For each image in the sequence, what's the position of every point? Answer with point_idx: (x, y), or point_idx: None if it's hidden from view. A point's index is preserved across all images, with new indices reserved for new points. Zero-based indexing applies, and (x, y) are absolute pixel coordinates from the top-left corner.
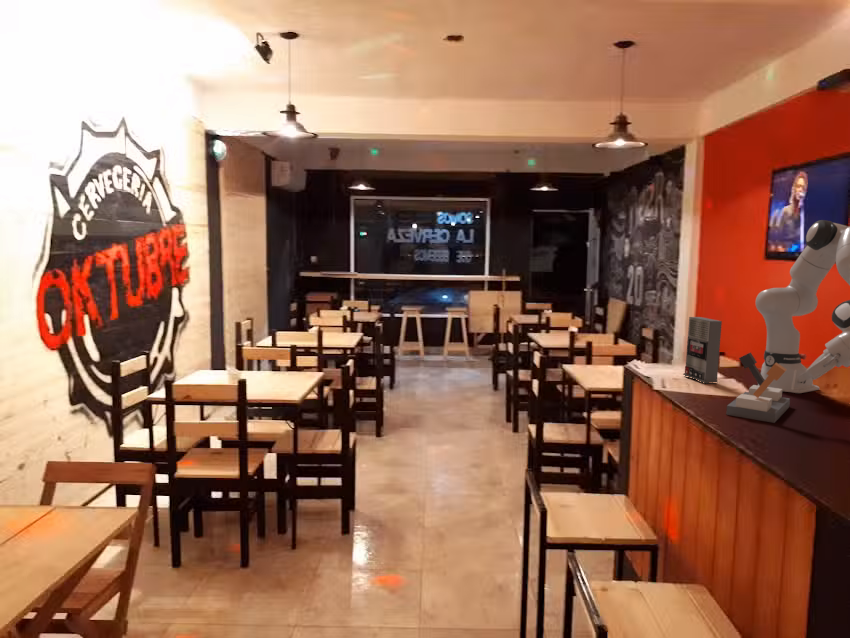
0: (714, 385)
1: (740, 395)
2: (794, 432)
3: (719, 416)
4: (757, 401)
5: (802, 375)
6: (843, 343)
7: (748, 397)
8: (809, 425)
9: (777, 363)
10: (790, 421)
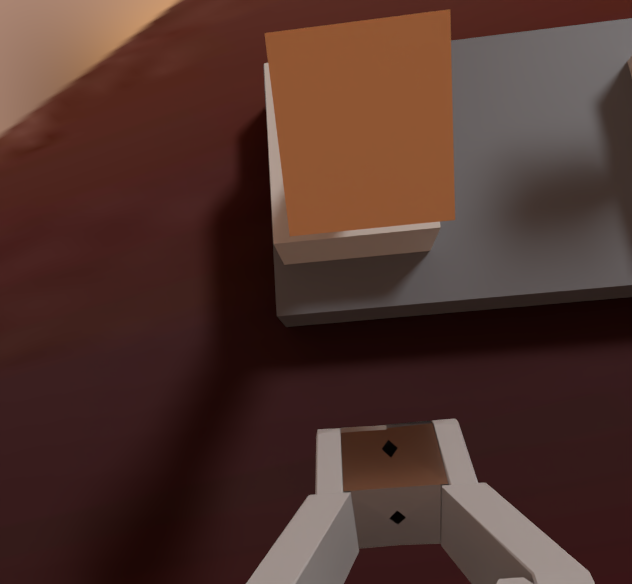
0: None
1: None
2: (151, 466)
3: (210, 91)
4: (270, 184)
5: (316, 489)
6: None
7: None
8: None
9: (429, 41)
10: (399, 386)
